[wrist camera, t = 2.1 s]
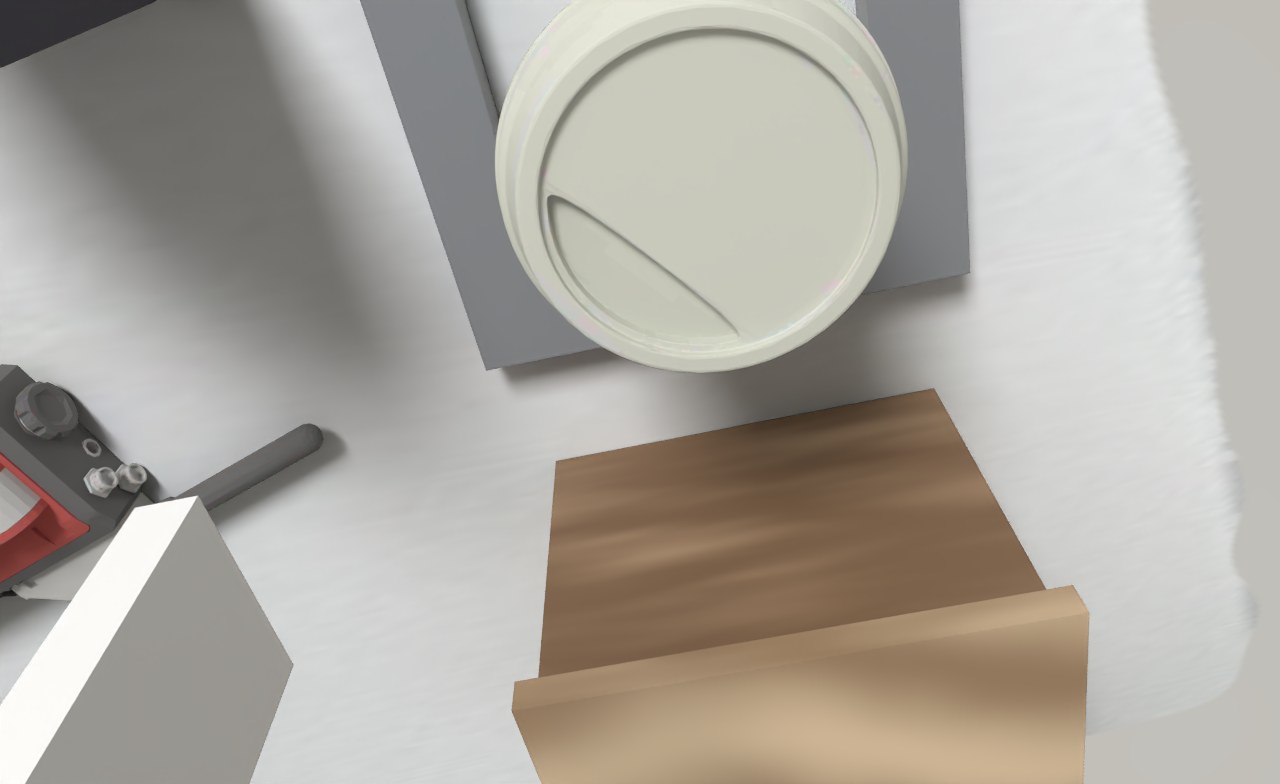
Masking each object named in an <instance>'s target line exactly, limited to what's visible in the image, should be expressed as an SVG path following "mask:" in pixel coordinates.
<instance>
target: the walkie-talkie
mask: <svg viewBox="0 0 1280 784" xmlns="http://www.w3.org/2000/svg"><path fill="white" fill-rule="evenodd" d="M78 416H79V414H78V411H77V408H76V406H75V403H74V402H73V400H72V399H71V398H70V396H69V395H68V394H67V393H65V392H64V391H63V390H62V389H60V388H59V387H57V386H55V385H53V384H50V383H48V382H47V383H42V382H35V381H34V380H33V379H32V378H31V377H29V376H28V375H27V374H26V373H25V372H24V371H23V370H22V369H21V368H20V367H19V366H18V365H3V364H2V365H0V597H4V596H16V595H19V596H20V597H22V598H24V599H25V600H27V599H29V598H36V599H53V600H70V601H72V599H73V598H74V596H75V595H76V594H77V592H78V591H79V589H80V588H81V586H82V585H83V583H84V582H85V580H86V579H87V577H88V576H89V574H90V573H91V572H92V570H93V569H94V567H95V566H96V564H97V563H98V561H99V560H100V558H101V557H102V555H103V554H104V552H105V551H106V549H107V548H108V547H109V545H110V544H111V542H112V541H113V539H114V538H115V536H116V535H117V533H118V532H119V530H120V529H121V527H122V526H123V524H124V523H125V522H126V520H127V519H128V517H129V516H130V514H131V513H132V511H133V510H134V508H136V507H141V506H147V505H152V504H154V503H153V502H152V501H151V500H150V499H149V498H148V497H147V496H146V495H145V494H144V493H142V492H141V488H142V484H143V483H144V482H145V481H146V480H147V474H146V471H145V469H144V468H143V467H142V466H141V465H139V464H136V463H132V464H130V465H129V466H127V465H125V464H124V463H123V462H122V461H121V460H120V459H118V458H117V457H116V456H115V455H114V454H113V453H112V452H111V451H110V450H109V449H108V448H107V447H105V446H104V445H103V444H102V443H101V442H100V441H99V440H98V439H97V438H96V437H95V436H94V435H92V434H91V433H90V432H89V431H88V430H87V429H86V428H85V427H84V426H83V425H82V424H80V423H79V422H78ZM322 443H323V435H322V432H321V430H320V429H319V428H318V427H317V426H315V425H312V424H304V425H301V426H299V427H298V428H296V429H294V430H293V431H291V432H289V433H287V434H286V435H284V436H282V437H280V438H279V439H277V440H275V441H273V442H272V443H270V444H268V445H266V446H265V447H263V448H261V449H259V450H258V451H256V452H254V453H252V454H251V455H249V456H247V457H245V458H244V459H242V460H240V461H238V462H237V463H235V464H233V465H231V466H230V467H228V468H226V469H224V470H223V471H221V472H219V473H217V474H216V475H214V476H212V477H210V478H209V479H207V480H205V481H203V482H202V483H200V484H198V485H196V486H195V487H193V488H191V489H189V490H188V491H186V492H184V493H182V494H181V495H179V496H177V497H169V498H166V499H165V500H163V501H161V502H159V503H162V502H167V501H173V500H178V499H183V498H188V497H193V496H199V498H200V500H201V501H202V503H203V505H204V507H205V509H206V510H207V512H208V511H210V510H212V509H213V508H215V507H217V506H219V505H220V504H222V503H224V502H226V501H228V500H229V499H231V498H233V497H235V496H236V495H238V494H240V493H242V492H244V491H245V490H247V489H249V488H251V487H252V486H254V485H256V484H258V483H260V482H261V481H263V480H265V479H267V478H268V477H270V476H272V475H274V474H276V473H277V472H279V471H281V470H283V469H284V468H286V467H288V466H290V465H292V464H293V463H295V462H297V461H299V460H300V459H302V458H304V457H306V456H308V455H309V454H311V453H313V452H315V451H316V450H318V449H319V448H320V446H321V445H322Z"/></svg>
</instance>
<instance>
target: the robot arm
mask: <svg viewBox="0 0 1280 784" xmlns="http://www.w3.org/2000/svg"><path fill="white" fill-rule="evenodd" d="M292 668H293V663H292V661H291V659H290V658H289V656H288V654H287V652H286V651H285V649H284V647H283V645H282V643H281V642H280V640H279V638H278V636H277V635H276V633H275V631H274V629H273V627H272V626H271V624H270V622H269V620H268V619H267V617H266V615H265V613H264V611H263V610H262V608H261V606H260V604H259V603H258V601H257V599H256V597H255V596H254V594H253V592H252V590H251V588H250V587H249V585H248V583H247V581H246V580H245V578H244V576H243V574H242V572H241V571H240V569H239V567H238V565H237V564H236V562H235V560H234V558H233V556H232V555H231V553H230V551H229V549H228V548H227V546H226V544H225V542H224V541H223V539H222V537H221V535H220V533H219V532H218V530H217V528H216V526H215V525H214V523H213V521H212V519H211V517H210V516H209V514H208V512H207V510H206V509H205V507H204V505H203V503H202V501H201V500H200V498H199V496H193V497H188V498H183V499H178V500H173V501H167V502H162V503H157V504H152V505H147V506H141V507H136V508H134V510H133V511H132V513H131V514H130V516H129V517H128V519H127V520H126V522H125V523H124V524H123V526H122V527H121V529H120V530H119V532H118V533H117V535H116V536H115V538H114V539H113V541H112V542H111V544H110V545H109V547H108V548H107V549H106V551H105V552H104V554H103V555H102V557H101V558H100V560H99V561H98V563H97V564H96V566H95V567H94V569H93V570H92V572H91V573H90V574H89V576H88V577H87V579H86V580H85V582H84V583H83V585H82V586H81V588H80V589H79V591H78V592H77V594H76V595H75V596H74V598H73V599H72V601H71V602H70V604H69V605H68V607H67V608H66V610H65V611H64V613H63V614H62V616H61V617H60V619H59V620H58V621H57V623H56V624H55V626H54V627H53V629H52V630H51V632H50V633H49V635H48V636H47V638H46V639H45V641H44V642H43V643H42V645H41V646H40V648H39V649H38V651H37V652H36V654H35V655H34V657H33V658H32V660H31V661H30V663H29V664H28V666H27V667H26V668H25V670H24V671H23V673H22V674H21V676H20V677H19V679H18V680H17V682H16V683H15V685H14V686H13V688H12V689H11V690H10V692H9V693H8V695H7V696H6V698H5V699H4V701H3V702H2V704H1V705H0V784H249V783H250V780H251V778H252V775H253V772H254V769H255V767H256V764H257V761H258V759H259V756H260V753H261V751H262V748H263V745H264V743H265V740H266V737H267V735H268V732H269V729H270V727H271V724H272V721H273V719H274V716H275V713H276V711H277V708H278V705H279V702H280V700H281V697H282V694H283V692H284V689H285V686H286V684H287V681H288V678H289V676H290V673H291V670H292Z"/></svg>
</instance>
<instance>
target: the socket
mask: <svg viewBox="0 0 1280 784" xmlns="http://www.w3.org/2000/svg"><path fill="white" fill-rule="evenodd" d="M855 1H856V11H857V18H858V19H859V20H860V22H861V23H862V24H863V25H864V26H865V28H866V29H867V30H868V32H869V33H870V35H871V36H872V37H873V39H874V40H875V42H876V43H877V45H878V47H879V48H880V50H881V52H882V54H883V56H884V58H885V60H886V62H887V64H888V66H889V68H890V71H891V73H892V76H893V78H894V81H895V84H896V87H897V90H898V93H899V97H900V101H901V106H902V110H903V114H904V119H905V124H906V131H907V142H908V169H907V179H906V187H905V192H904V197H903V202H902V206H901V209H900V213H899V216H898V219H897V222H896V225H895V227H894V230H893V234H892V237H891V240H890V242H889V245H888V247H887V250H886V252H885V255H884V257H883V259H882V261H881V263H880V265H879V266H878V268H877V270H876V272H875V274H874V276H873V277H872V279H871V280H870V282H869V283H868V285H867V286H866V287H865V289H864V290H863V292H862V293H861V295H864V294H869V293H874V292H879V291H884V290H889V289H894V288H899V287H904V286H909V285H914V284H918V283H923V282H928V281H933V280H938V279H943V278H948V277H953V276H958V275H963V274H968V273H970V260H969V236H968V212H967V188H966V164H965V139H964V115H963V91H962V67H961V43H960V19H959V0H855ZM360 2H361V5H362V7H363V10H364V13H365V16H366V19H367V22H368V25H369V28H370V31H371V34H372V37H373V40H374V43H375V46H376V49H377V51H378V54H379V57H380V60H381V63H382V66H383V69H384V72H385V75H386V78H387V81H388V84H389V87H390V90H391V93H392V95H393V98H394V101H395V104H396V107H397V110H398V113H399V116H400V119H401V122H402V125H403V128H404V131H405V134H406V137H407V139H408V142H409V145H410V148H411V151H412V154H413V157H414V160H415V163H416V166H417V169H418V172H419V175H420V178H421V181H422V183H423V186H424V189H425V192H426V195H427V198H428V201H429V204H430V207H431V210H432V213H433V216H434V219H435V222H436V225H437V227H438V230H439V233H440V236H441V239H442V242H443V245H444V248H445V251H446V254H447V257H448V260H449V263H450V266H451V269H452V271H453V274H454V277H455V280H456V283H457V286H458V289H459V292H460V295H461V298H462V301H463V304H464V307H465V310H466V313H467V316H468V318H469V321H470V324H471V327H472V330H473V333H474V336H475V339H476V342H477V345H478V348H479V351H480V354H481V357H482V360H483V362H484V365H485V368H486V371H487V370H492V369H497V368H502V367H507V366H512V365H517V364H522V363H527V362H532V361H537V360H542V359H547V358H552V357H557V356H561V355H566V354H571V353H576V352H581V351H586V350H591V349H596V348H601V346H600V345H598V344H597V343H595V342H593V341H592V340H590V339H589V338H587V337H586V336H585V335H584V334H582V333H581V332H580V331H579V330H578V329H576V328H575V327H574V326H573V325H572V324H571V323H569V322H568V321H567V320H566V319H565V318H564V317H563V315H562V314H560V313H559V312H558V311H557V310H556V309H555V308H554V307H553V306H552V305H551V304H550V303H549V302H548V301H547V300H546V298H545V297H544V296H543V295H542V294H541V293H540V291H539V290H538V289H537V288H536V286H535V285H534V284H533V282H532V281H531V279H530V278H529V276H528V275H527V273H526V272H525V270H524V268H523V267H522V265H521V263H520V261H519V259H518V257H517V255H516V253H515V251H514V249H513V247H512V244H511V241H510V238H509V236H508V233H507V230H506V227H505V224H504V220H503V216H502V212H501V208H500V204H499V199H498V193H497V186H496V176H495V146H496V137H497V130H498V124H499V118H498V114H497V111H496V108H495V104H494V101H493V97H492V94H491V90H490V87H489V83H488V80H487V76H486V73H485V69H484V66H483V62H482V59H481V56H480V52H479V49H478V45H477V42H476V38H475V35H474V31H473V28H472V24H471V21H470V17H469V14H468V11H467V7H466V4H465V0H360Z"/></svg>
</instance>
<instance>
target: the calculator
mask: <svg viewBox="0 0 1280 784" xmlns="http://www.w3.org/2000/svg"><path fill="white" fill-rule="evenodd" d="M155 1H156V0H0V68H1V67H4V66H6V65H8V64H11V63H13V62H15V61H18V60H20V59H22V58H25V57H27V56H29V55H32V54H34V53H36V52H39V51H41V50H43V49H46V48H48V47H50V46H53V45H55V44H57V43H60V42H62V41H64V40H67V39H69V38H71V37H74V36H76V35H78V34H81V33H83V32H85V31H88V30H90V29H92V28H95V27H97V26H99V25H102V24H104V23H106V22H109V21H111V20H113V19H116V18H118V17H120V16H123V15H125V14H127V13H130V12H132V11H134V10H137V9H139V8H141V7H144V6H146V5H148V4H151V3H153V2H155Z"/></svg>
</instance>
